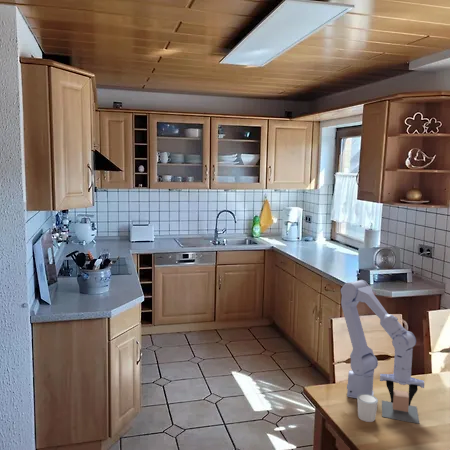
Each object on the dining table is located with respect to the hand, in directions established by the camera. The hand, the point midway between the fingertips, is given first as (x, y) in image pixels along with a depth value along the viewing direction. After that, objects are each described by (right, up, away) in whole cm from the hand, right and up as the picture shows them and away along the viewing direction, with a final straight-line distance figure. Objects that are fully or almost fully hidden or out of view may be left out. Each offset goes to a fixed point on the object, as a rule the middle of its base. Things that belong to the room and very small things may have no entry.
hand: (400, 402), depth 154 cm
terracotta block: (0, -2, 0) cm, 2 cm away
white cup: (-13, -4, -4) cm, 14 cm away
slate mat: (0, -3, 0) cm, 3 cm away
